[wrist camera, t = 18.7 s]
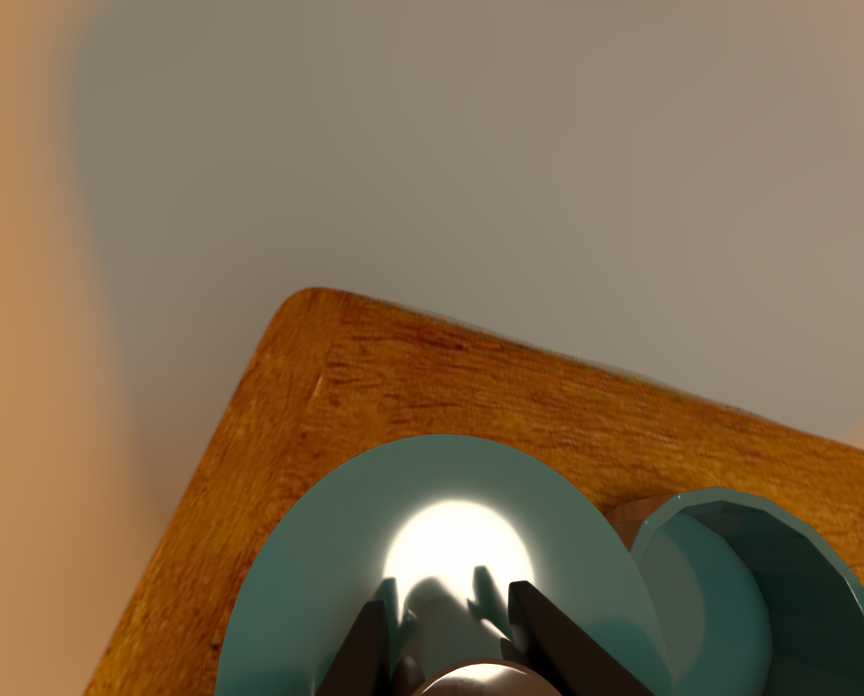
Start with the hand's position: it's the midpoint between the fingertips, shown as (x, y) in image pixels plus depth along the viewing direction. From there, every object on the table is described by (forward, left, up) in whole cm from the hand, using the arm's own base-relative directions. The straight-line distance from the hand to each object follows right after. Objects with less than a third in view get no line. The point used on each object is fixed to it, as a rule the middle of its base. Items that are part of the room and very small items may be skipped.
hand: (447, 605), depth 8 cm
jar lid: (-1, -1, -3) cm, 3 cm away
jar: (+10, -8, -13) cm, 18 cm away
